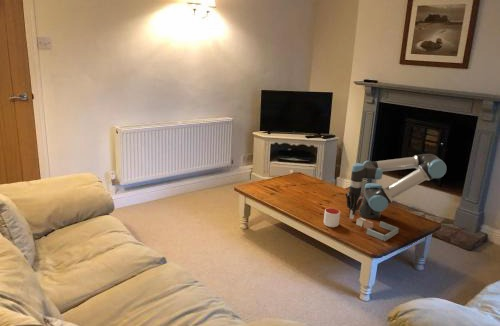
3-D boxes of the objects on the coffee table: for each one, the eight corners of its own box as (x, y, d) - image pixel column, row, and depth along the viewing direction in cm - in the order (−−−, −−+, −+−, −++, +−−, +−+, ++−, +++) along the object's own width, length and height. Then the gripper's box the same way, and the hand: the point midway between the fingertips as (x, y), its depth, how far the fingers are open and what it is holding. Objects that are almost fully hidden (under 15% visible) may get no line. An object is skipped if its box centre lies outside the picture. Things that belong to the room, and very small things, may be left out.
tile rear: (356, 224, 278) (356, 219, 276) (359, 222, 281) (360, 217, 280) (361, 227, 275) (362, 221, 273) (365, 225, 278) (366, 219, 276)
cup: (336, 221, 281) (338, 208, 278) (340, 228, 271) (341, 214, 268) (322, 221, 280) (323, 207, 277) (325, 227, 271) (326, 213, 268)
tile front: (363, 227, 274) (364, 222, 273) (366, 225, 277) (367, 220, 276) (369, 230, 271) (370, 224, 270) (372, 228, 274) (373, 222, 273)
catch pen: (366, 233, 265) (367, 228, 264) (380, 225, 277) (381, 221, 276) (384, 241, 256) (385, 236, 255) (398, 232, 269) (399, 228, 268)
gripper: (344, 184, 277) (340, 216, 284) (361, 190, 268) (356, 223, 275) (350, 182, 282) (346, 213, 289) (367, 187, 273) (362, 220, 280)
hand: (351, 218), depth 282 cm, fingers closed
